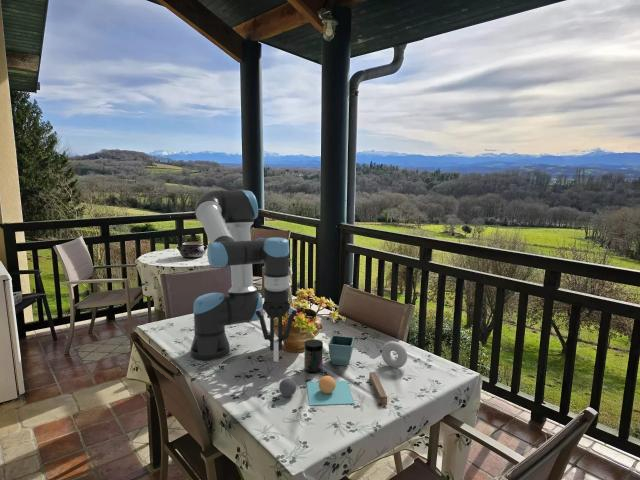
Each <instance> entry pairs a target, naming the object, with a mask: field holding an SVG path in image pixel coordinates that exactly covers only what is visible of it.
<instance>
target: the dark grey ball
mask: <svg viewBox="0 0 640 480" xmlns="http://www.w3.org/2000/svg"><path fill="white" fill-rule="evenodd" d="M278 389H279V392H280V394H281V395H282V396H284V397H292V396H293V395H294V394H295V393H296V391H297V384H296V382H295V380H294V379H292V378H290V377H286V378H284V379H282V380H281V381H280V383H279V386H278Z"/></svg>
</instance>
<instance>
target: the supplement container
mask: <svg viewBox="0 0 640 480" xmlns="http://www.w3.org/2000/svg"><path fill="white" fill-rule="evenodd" d="M303 344H304V346H303V348H304V350H303V351H304V354H303V355H304V358H303V359H304V363H303V364H304V367H303V369H304V371H305V372H306V373H308V374H310V375H314V374H316V375H317V374H319V373H321V372H322V371H323V363H324V362H323V359H324V358H323V356H324V355H323V354H324V353H323V350H324V342H323V341H322V340H320V339H307V340H305V341H304V343H303Z"/></svg>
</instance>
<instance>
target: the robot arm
mask: <svg viewBox="0 0 640 480" xmlns="http://www.w3.org/2000/svg"><path fill="white" fill-rule="evenodd" d="M256 197H257V196H255V194H254V193H253V191H250V190H245V189H237V190H235V189H233V190H231V189H229V190H228V189H225V190H224V189H222V190H221V189H220V190H219V189H215V190H210V191H207V192H206V193H204V194H202V195H201V196H200V197H199V198H198V199H197V201H196V203H195V207H194V214H195V217H196V220H197V221H199V223H201V224H202V227H203V228H204V232H205V234H206V236H207V237H206V238H207V239H208V242H209V243H208V245H207V253H206V254H207V260H208V263H209V266H211V267H213V268H214V267H216V268H217V267H221V268H224V267H230V276H231V287H230V288H229V289H228V292H227V293H228V294H227V295H224V293H223V292H219V291H218V292H209V293H205V294H202V295H200V296H198V297H196V299H195V300H194V302H193V310H192V311H193V320H194V321H193V322H194V326H193V327H194V328H193V330H194V336H193V340H192V343H191V346H190V356H191V358H193V359H195V360H198V361H213V360H214V361H215V360H218V359H221V358H223V357H225V356H227V355H229V353H230V351H231V348H230V347H231V345H230V342H229V339H228V337H227V334H226V330H225V329H226V326H231V325H232V326H233V325H239V324H245V323H247V324H249V323H252V322H256V321H258V320H259V324H260V327H261V331H262V335H263V339H264V340H266V341H269V349H270V350H269V351H273V362H279V351H282V350H283V341H285V340H288V339H289V336H290V333H291V329H292V324H293V322H294V317H295V316H296V315H297V313H298V312H297V311H298V310H297V308H296V307H292V306H291V304H290V302H289V299H290V298H289V296H290V295H289V294H290V293H289V292H290V291H289V287H290V284H289V283H290V279H289V278H290V273H289V271H290V270H289V269H290V244H289V243H290V241H289V240H288V239H287V238H284V237H279V236H278V237H277V236H275V237H274V236H273V237H268V238H267V237H265V238H264V237H259V238H256V239H255V240H254V239H253V240H252V237H251V236H252V235H251V234H252V233H251V227H252V225H253V224H254V220H255V219H257V218H258V216H259V206H258V201H257V198H256ZM255 264H263V265H264V268H263V269H264V270H263V271H264V272H263V274H264V275H263V286H264V290H263V294H264V295H263V296H264V297H262V293H260V292H258V289H257V287H256V286H254V278H253V265H255ZM265 313H266V314H267V316H268V317H269V330H268V329H267V324H266V321H265V316H264V314H265ZM287 313H288V319H287V321H286V322H287V323H286V326H285V330H284V333H283V317H284V316H285V315H286V314H287ZM275 318H277V319H278V322H277V323H278V327H277V328H278V329H277V331H278V335H277V337H278V338H275Z"/></svg>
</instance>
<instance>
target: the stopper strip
mask: <svg viewBox="0 0 640 480" xmlns="http://www.w3.org/2000/svg"><path fill="white" fill-rule="evenodd" d="M369 381H370V383H371V385H372V389H373V390H374V393H375V396H376V397H377V399H378V402H379V404H380V405H388V395H387V393H386V391H385V389H384V387H383V385H382V383H381V381H380V379H379V377H378V375H377V373H376V372H375V371H370V372H369Z"/></svg>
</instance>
